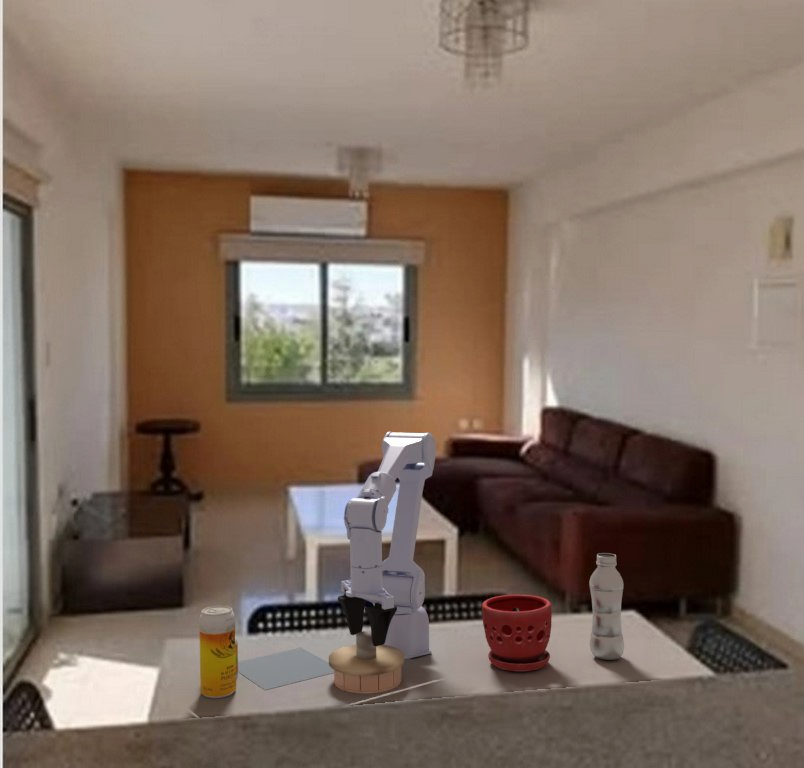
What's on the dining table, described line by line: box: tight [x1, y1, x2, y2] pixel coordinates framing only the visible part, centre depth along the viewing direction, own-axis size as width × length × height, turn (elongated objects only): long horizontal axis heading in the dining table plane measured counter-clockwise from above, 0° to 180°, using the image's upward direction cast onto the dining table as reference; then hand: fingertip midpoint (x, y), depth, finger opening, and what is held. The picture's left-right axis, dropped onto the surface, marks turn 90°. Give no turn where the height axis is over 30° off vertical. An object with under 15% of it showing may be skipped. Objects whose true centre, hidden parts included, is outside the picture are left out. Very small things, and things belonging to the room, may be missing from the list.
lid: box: [328, 630, 405, 676], centre depth 163 cm, size 14×14×5 cm
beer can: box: [198, 605, 237, 699], centre depth 159 cm, size 6×6×15 cm
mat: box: [238, 647, 334, 691], centre depth 171 cm, size 16×16×1 cm
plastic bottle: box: [588, 552, 625, 661], centre depth 175 cm, size 6×7×20 cm
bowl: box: [333, 666, 402, 694], centre depth 164 cm, size 12×12×4 cm
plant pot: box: [481, 594, 553, 672], centre depth 172 cm, size 13×13×12 cm
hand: (367, 639), depth 163 cm, fingers open, 7 cm apart
